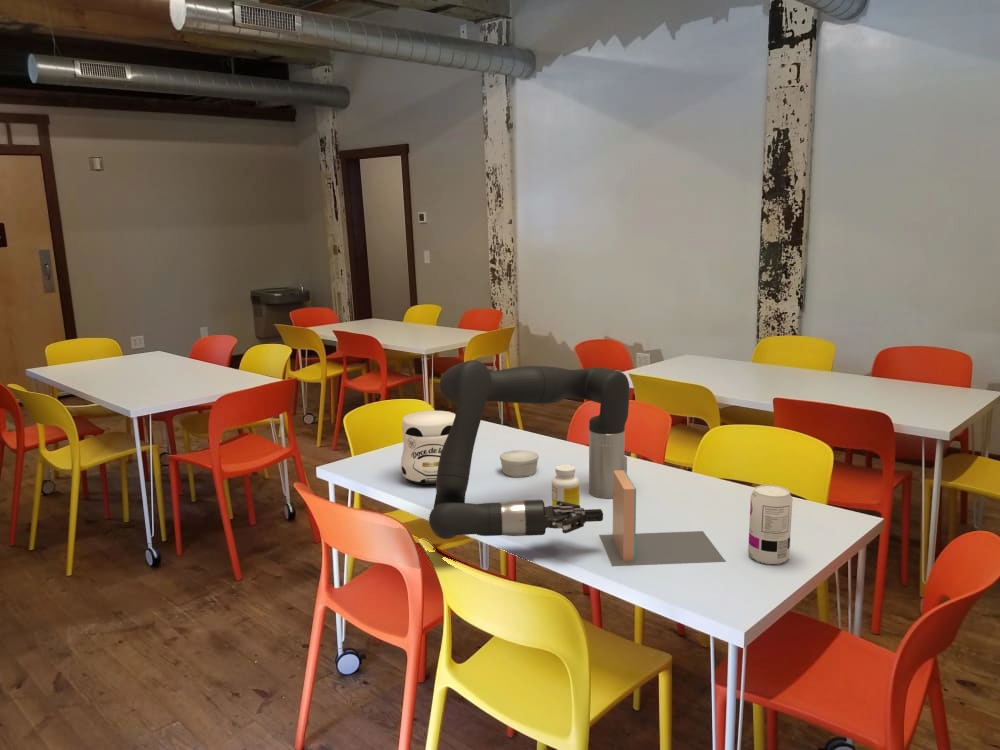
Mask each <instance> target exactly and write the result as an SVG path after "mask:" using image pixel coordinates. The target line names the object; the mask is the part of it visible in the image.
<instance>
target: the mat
mask: <svg viewBox="0 0 1000 750" xmlns="http://www.w3.org/2000/svg"><path fill="white" fill-rule="evenodd" d="M598 537H599V538H600V540H601V543H602V546H603V548H604V550H605V553H606V555H607V557H608V559H609V560H608V561H610V564H611V567H623V566H624V567H626V566H651V565H653V566H655V565H675V564H676V565H679V564H680V565H681V564H703V563H705V564H706V563H708V564H709V563H726V562H727V561H726V560H725V558H724V557H723V556H722V554H721V553H720V551H718V549H717V548H716V547H715V545H714V543H713V542H712V541H711V540H710V538H709V537H708V536H707V534H705V532H704V531H703V530H699V531H698V530H696V531H695V530H694V531H670V532H669V531H668V532H643V533H640V532H639V533H635V561H623V560H622V557H621V555H620V553H619V551H618V549H617V546H616V544H615V542H614V540H613V533H612V534H599V535H598Z"/></svg>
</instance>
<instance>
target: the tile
mask: <svg viewBox="0 0 1000 750" xmlns="http://www.w3.org/2000/svg"><path fill="white" fill-rule="evenodd" d="M636 514H637V488H636V486H635V485H634V483H633V482H632V480H631V478H630V477H629V475H628V473H627V474H626V472H625V470H616V471H613V498H612V534H613V540H614V542H615V544H616V546H617V549H618V551H619V553H620V555H621V557H622V560H623V561H635V534H637V533H636V524H637V521H636V520H637V519H636V517H637V515H636Z"/></svg>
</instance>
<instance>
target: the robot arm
mask: <svg viewBox="0 0 1000 750" xmlns="http://www.w3.org/2000/svg"><path fill="white" fill-rule="evenodd" d="M630 389H631V388H630V382H629V378H628V377H627V375H626V374H625V373H624V372H621V371H619V370H616V369H615V370H614V369H609V368H606V367H590V368H579V369H568V368H563V367H555V366H544V365H524V366H516V367H515V366H514V367H510V368H505V369H498V370H489V368H488V367H487V365H485V363H483V362H482V361H481V360H477V359H476V360H475V359H473V360H472V359H471V360H470V359H469V360H467V361H464V362H461V363H458V364H456V365H452V366H451V367H450V368H448V369H447V370H446V371H445V372H444V373H443V374H442V376H441V377H440V380H439V390H440V393H441V394H442V396H443V397H444V398H445V399H446V400H447V401H449V402H450V403H453V404H455V405H456V412H455V414H456V415H455V419H454V422H453V425H452V427H451V430H450V432H449V434H448V436H447V439H446V441H445V443H444V446H443V448H442V451H441V455H440V460H439V465H438V472H437V478H436V484H435V486H436V487H435V489H436V491H435V498H434V503H433V509H431V512H429V513H430V514H429V517H428V524H429V527H430V529H431V530H432V533H434V535H435V536H437V537H438V538H441V539H443V540H449V539H452V538H453V539H454V538H455V537H456V536H464V535H465V536H468V535H476V536H480V537H481V536H483V537H494V536H495V537H496V536H507V537H528V536H531V537H533V536H543V535H546V531H547V530H546V529H556V530H557V529H559V530H560V529H561V531H562V533H563V534H568V533H571V532H573V531H576V530H579V529H581V528H583V527H585V524H586V523H589V522H591V523H592V522H602V521H603V520H604V512H603V510H602V509H601V508H597V509H596V508H592V509H591V508H590V509H585V508H584V507H581V505H580V504H579V505H575V504H571V503H567V502H562V501H557V502H556V505H553V506H552V505H549V506H545V501H544V500H543V499H529V500H528V499H525V500H524V499H523V500H508V501H503V502H483V503H469V502H467V503H466V493H467V490H468V485H469V481H470V480H469V479H470V472H471V467H472V466H471V465H472V458H473V455H474V454H473V452H474V449H475V444H476V443H475V442H476V440H477V435H478V433H479V428H480V423H481V420H482V416H483V414H484V409H485V406H486V404H487V402H503V403H511V404H512V403H514V404H527V405H528V404H531V405H537V404H539V405H545V404H554V403H557V402H560V401H562V400H564V399H580V400H586V401H591V402H594V403H597V404H600V409H599V415H595V416H592V417H591V418H590V419H589V422H588V440H589V441H588V493H589V494H590V495H592V496H594V497H596V498H600V499H601V498H603V499H613V471H616V470H625V472H626V474H627V475H628V457H627V456H626V455H625V449H626V448H625V447H626V446H625V443H626V442H625V441H626V440H625V439H626V438H625V437H626V429H625V427H626V423H627V421H628V418H629V408H630V406H629V405H630V404H629V403H630V394H631V393H630Z"/></svg>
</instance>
